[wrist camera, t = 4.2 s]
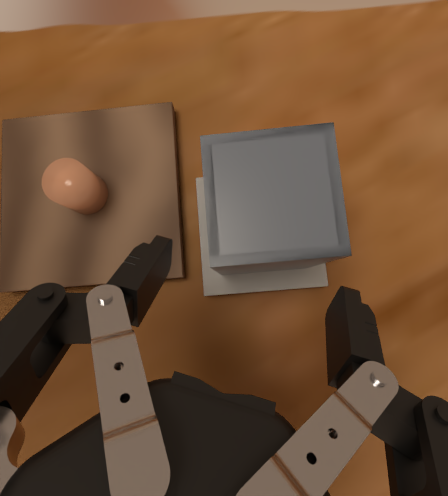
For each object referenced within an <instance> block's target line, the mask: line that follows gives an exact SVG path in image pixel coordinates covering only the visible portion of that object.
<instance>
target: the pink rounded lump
mask: <svg viewBox="0 0 448 496" xmlns="http://www.w3.org/2000/svg"><path fill="white" fill-rule="evenodd" d="M42 189H43V191H44V193H45V195H46V196H47V197H48V198H49V199H50V200H52V201H54V202H56V203H58V204H60V205H62V206H65V207H67V208H69V209H71V210H73V211H75V212H78V213H80V214H84V215H89V214H93V213H96V212H98V211H99V210H100V209H101V208H102V207H103V206H104V205H105V203H106V201H107V198H108V188H107V186H106V184H105V182H104V181H103V180H102V179H101V178H100V177H98V176H97V175H96V174H94V173H93V172H92V171H91V170H89V169H88V168H87V167H86V166H84V165H83V164H82V163H80V162H79V161H77V160H75V159H73V158H61V159H58V160H55V161H54V162H52V163H51V164H50V165H49V166H48V167H47V168H46V170H45V171H44V173H43V176H42Z"/></svg>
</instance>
